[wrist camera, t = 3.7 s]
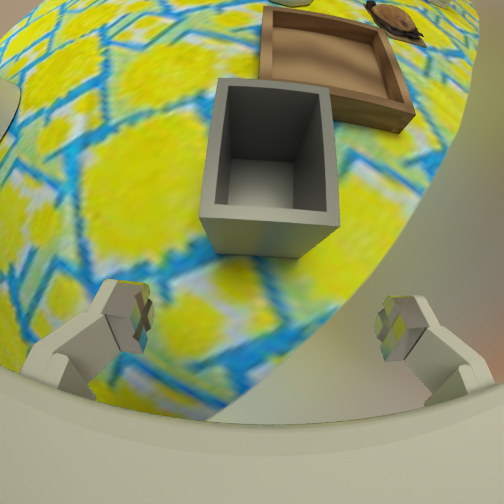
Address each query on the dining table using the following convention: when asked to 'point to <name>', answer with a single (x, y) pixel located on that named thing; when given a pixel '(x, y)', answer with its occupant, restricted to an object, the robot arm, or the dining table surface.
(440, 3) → the supplement box
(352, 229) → the dining table surface
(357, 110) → the tray
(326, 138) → the small crate
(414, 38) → the bread roll
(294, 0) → the flask
